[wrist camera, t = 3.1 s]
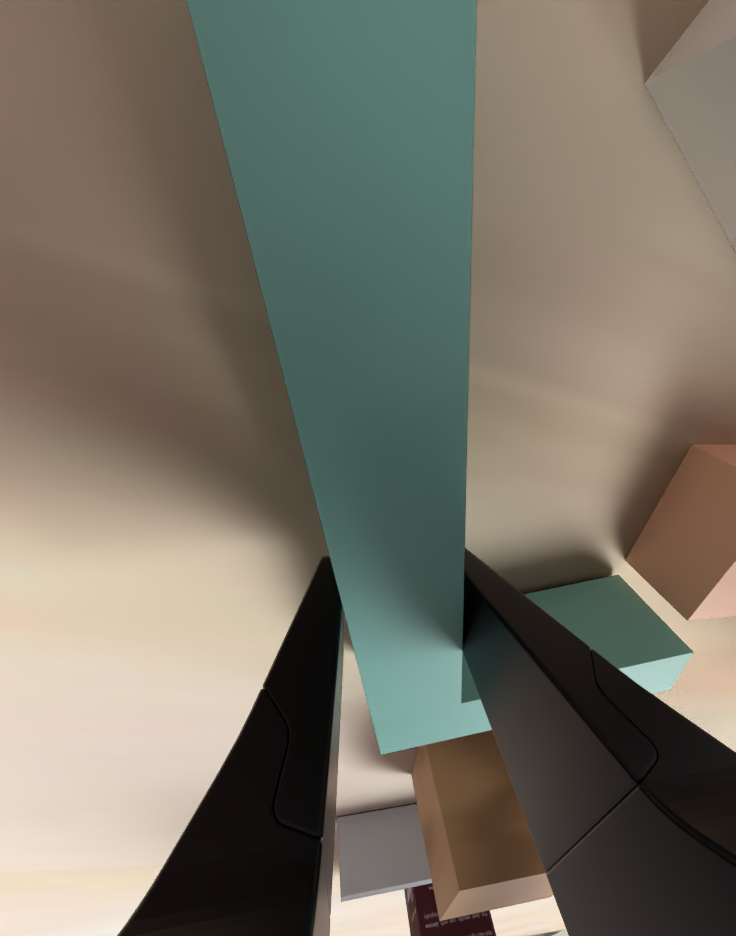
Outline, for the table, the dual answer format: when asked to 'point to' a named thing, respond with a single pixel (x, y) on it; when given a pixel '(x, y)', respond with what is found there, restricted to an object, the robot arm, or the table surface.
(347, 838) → the gray angle bracket
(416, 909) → the supplement box
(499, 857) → the block
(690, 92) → the stick
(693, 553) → the offcut
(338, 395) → the crook
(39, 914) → the table surface
